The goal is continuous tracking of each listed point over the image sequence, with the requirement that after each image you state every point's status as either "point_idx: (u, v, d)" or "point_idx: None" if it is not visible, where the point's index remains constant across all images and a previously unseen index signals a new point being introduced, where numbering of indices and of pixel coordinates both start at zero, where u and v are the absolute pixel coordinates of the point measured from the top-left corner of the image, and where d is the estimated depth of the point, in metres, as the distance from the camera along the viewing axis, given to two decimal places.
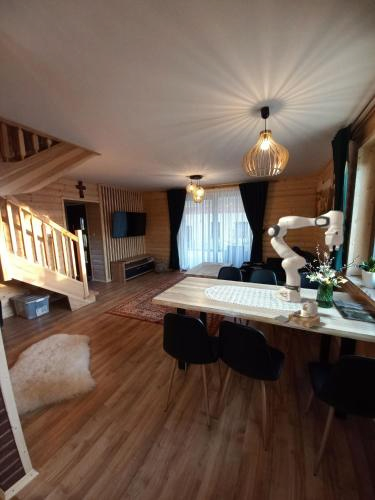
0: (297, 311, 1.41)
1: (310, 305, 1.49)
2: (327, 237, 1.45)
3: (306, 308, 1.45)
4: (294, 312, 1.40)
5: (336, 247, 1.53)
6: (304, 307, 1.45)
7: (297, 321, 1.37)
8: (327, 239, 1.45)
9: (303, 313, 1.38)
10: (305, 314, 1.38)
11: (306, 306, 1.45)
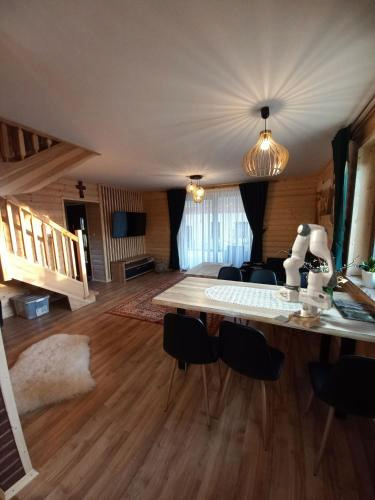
0: (297, 311, 1.41)
1: (310, 305, 1.49)
2: (328, 302, 1.31)
3: None
4: (294, 312, 1.40)
5: (306, 306, 1.44)
6: (304, 307, 1.45)
7: (297, 321, 1.37)
8: (329, 304, 1.31)
9: (303, 313, 1.38)
10: (305, 314, 1.38)
11: None
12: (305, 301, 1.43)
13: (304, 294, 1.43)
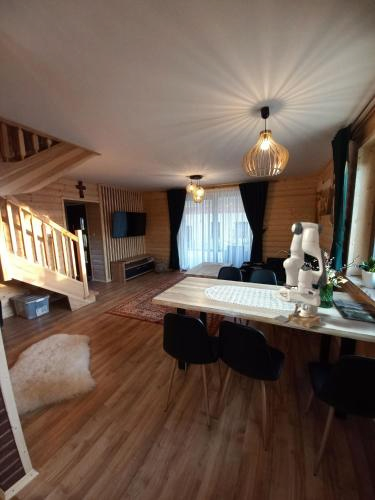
0: (295, 310, 1.42)
1: None
2: (317, 298, 1.36)
3: None
4: (294, 312, 1.40)
5: (299, 304, 1.48)
6: (296, 305, 1.49)
7: (297, 321, 1.37)
8: (318, 300, 1.36)
9: (303, 313, 1.38)
10: (305, 314, 1.38)
11: None
12: (296, 298, 1.48)
13: (295, 291, 1.49)
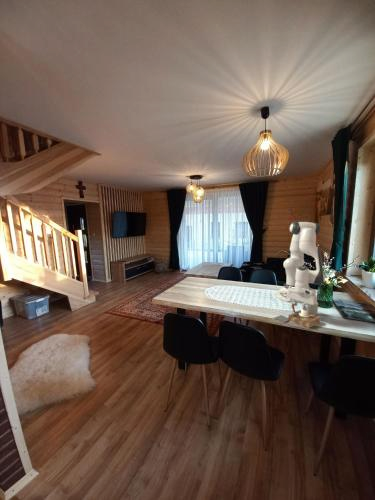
0: (293, 310, 1.43)
1: (310, 305, 1.49)
2: (314, 297, 1.38)
3: None
4: (293, 312, 1.40)
5: (295, 302, 1.51)
6: (293, 305, 1.50)
7: (297, 321, 1.37)
8: (315, 299, 1.38)
9: (303, 313, 1.38)
10: (305, 314, 1.38)
11: None
12: (293, 297, 1.50)
13: (292, 290, 1.51)
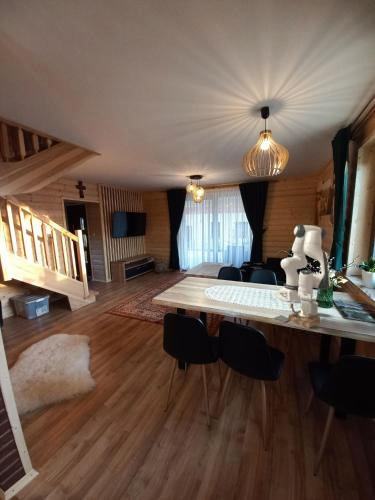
0: (293, 310, 1.43)
1: (310, 305, 1.49)
2: (303, 303, 1.31)
3: None
4: (293, 312, 1.40)
5: None
6: (291, 304, 1.51)
7: (297, 321, 1.37)
8: (303, 305, 1.30)
9: None
10: None
11: (292, 303, 1.51)
12: None
13: None
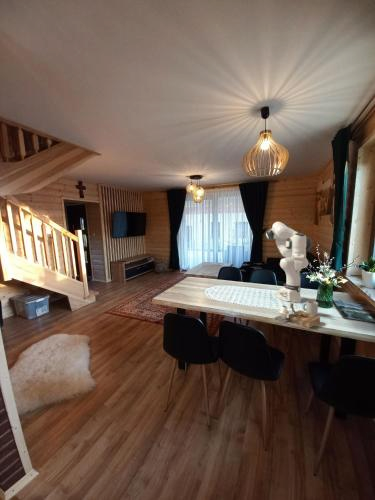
0: (293, 310, 1.43)
1: (310, 305, 1.49)
2: (297, 262, 1.39)
3: None
4: (293, 312, 1.40)
5: None
6: (291, 304, 1.51)
7: (297, 321, 1.37)
8: (297, 264, 1.38)
9: (282, 310, 1.42)
10: (284, 311, 1.42)
11: (292, 303, 1.51)
12: None
13: None
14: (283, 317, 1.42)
